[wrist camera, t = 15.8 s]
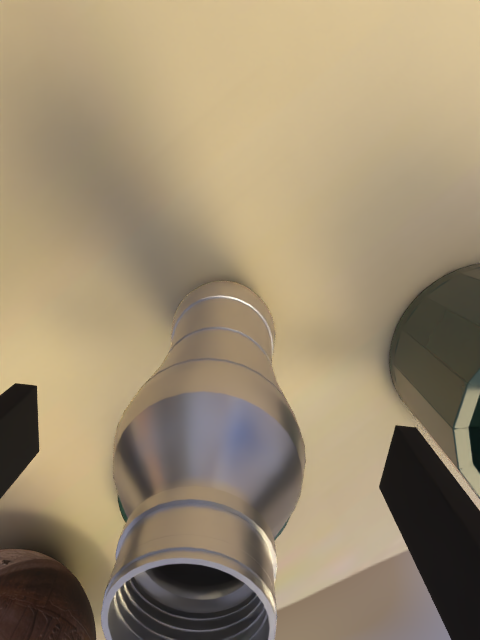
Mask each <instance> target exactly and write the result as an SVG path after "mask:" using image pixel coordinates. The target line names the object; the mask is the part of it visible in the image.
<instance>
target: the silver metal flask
mask: <svg viewBox="0 0 480 640" xmlns="http://www.w3.org/2000/svg"><path fill="white" fill-rule="evenodd" d="M275 335H276V334H275V324H274V321H273V318H272V315H271V313H270V311H269V309H268V307H267V306H266V304H265V303H264V302H263V301H262V299H261V298H260V297H259V296H258V295H256V294H255V293H254V292H253V291H252V290H250V289H249V288H247V287H245V286H243V285H242V284H238V283H235V282H231V281H214V282H210V283H207V284H204V285H202V286H200V287H198V288H196V289H195V290H193V291H192V292H190V293H189V294H188V295H187V296H186V297H185V298H184V299H183V300H182V302H181V303H180V304H179V306H178V308H177V310H176V312H175V315H174V319H173V323H172V331H171V348H170V351H169V354H168V355H167V357H166V358H165V360H164V362H163V363H162V365H161V366H160V367H159V369H158V370H157V371H156V372H155V373H154V374H153V375H152V376H151V378H150V379H149V380H148V381H147V382H146V383H145V384H144V385H143V386H142V388H141V389H140V390H139V391H138V393H137V394H136V395H135V397H134V398H133V399H132V401H131V402H130V404H129V405H128V407H127V408H126V410H125V411H124V413H123V415H122V417H121V420H120V422H119V424H118V426H117V430H116V435H115V440H114V452H113V477H114V482H115V486H116V490H117V493H118V496H119V499H120V501H121V504H122V506H123V509H124V511H125V514H126V516H127V518H128V520H127V522H126V524H125V526H124V528H123V531H122V533H121V536H120V539H119V542H118V546H117V550H116V563H115V566H114V569H113V571H112V574H111V577H110V580H109V583H108V585H107V588H106V591H105V595H104V600H103V607H102V611H101V623H102V629H103V632H104V635H105V638H106V640H274V639H275V632H276V622H277V621H276V620H277V611H276V599H275V587H274V582H275V579H276V572H277V560H276V549H275V541H274V538H275V537H276V535H277V534H278V532H279V531H280V530H281V528H282V527H283V526H284V524H285V523H286V521H287V520H288V518H289V517H290V515H291V514H292V512H293V511H294V509H295V507H296V504H297V502H298V499H299V497H300V493H301V487H302V482H303V476H304V469H305V463H306V458H305V445H304V441H303V438H302V435H301V432H300V428H299V426H298V423H297V421H296V418H295V415H294V413H293V411H292V409H291V408H290V406H289V404H288V402H287V400H286V398H285V396H284V394H283V392H282V390H281V389H280V387H279V385H278V383H277V381H276V377H275V374H274V371H273V368H272V356H273V353H274V345H275Z"/></svg>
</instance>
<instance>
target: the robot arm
mask: <svg viewBox="0 0 480 640" xmlns="http://www.w3.org/2000/svg"><path fill="white" fill-rule="evenodd" d="M38 452H39V432H38V405H37V386H34V385H25V384H16V383H15V384H14V385H13V386H11V387H10V388H9V389H8V390H6V391H5V392H4V393H3V394H1V395H0V499H1V497H2V496H3V495H4V494H5V492H6V491H7V490H8V489H9V488H10V486H11V485H12V484H13V483H14V481H15V480H16V479H17V478H18V477H19V475H20V474H21V473H22V472H23V470H24V469H25V468H26V467H27V465H28V464H29V463H30V462H31V461H32V459H33V458H34V457H35V456H36V454H37V453H38ZM379 488H380V490H381V492H382V494H383V496H384V499H385V501H386V503H387V505H388V507H389V509H390V511H391V513H392V515H393V517H394V520H395V522H396V524H397V526H398V528H399V530H400V532H401V534H402V536H403V539H404V541H405V543H406V545H407V547H408V549H409V551H410V553H411V555H412V557H413V560H414V562H415V564H416V566H417V568H418V570H419V572H420V574H421V576H422V578H423V581H424V583H425V585H426V587H427V589H428V591H429V593H430V595H431V598H432V600H433V602H434V604H435V606H436V608H437V610H438V612H439V614H440V616H441V619H442V621H443V623H444V625H445V627H446V629H447V631H448V633H449V635H450V638H451V640H480V511H479V509H478V508H477V507H476V505H475V504H474V503H473V502H472V500H471V499H470V498H469V496H468V495H467V494H466V492H465V491H464V490H463V488H462V487H461V486H460V484H459V483H458V482H457V481H456V479H455V478H454V477H453V475H452V474H451V473H450V471H449V470H448V469H447V467H446V466H445V465H444V463H443V462H442V461H441V460H440V458H439V457H438V456H437V454H436V453H435V452H434V450H433V449H432V448H431V446H430V445H429V444H428V443H427V441H426V440H425V439H424V437H423V436H422V435H421V433H420V432H419V431H418V429H417V428H415V427H406V426H397V425H396V426H395V430H394V434H393V437H392V441H391V445H390V449H389V452H388V456H387V460H386V463H385V467H384V471H383V474H382V478H381V482H380V486H379Z"/></svg>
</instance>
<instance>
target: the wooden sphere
mask: <svg viewBox="0 0 480 640" xmlns="http://www.w3.org/2000/svg"><path fill="white" fill-rule="evenodd" d="M0 640H96V630H95V622H94V617H93V612H92V609H91V605H90V602H89V600H88V597H87V595H86V593H85V591H84V589H83V587H82V586H81V584H80V583H79V581H78V580H77V578H76V577H75V576H74V575H73V574H72V573H71V572H70V571H69V570H68V569H67V568H66V567H65V566H64V565H63V564H61V563H60V562H58V561H57V560H55V559H53V558H51V557H49V556H47V555H45V554H42V553H39V552H35V551H31V550H25V549H0Z"/></svg>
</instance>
